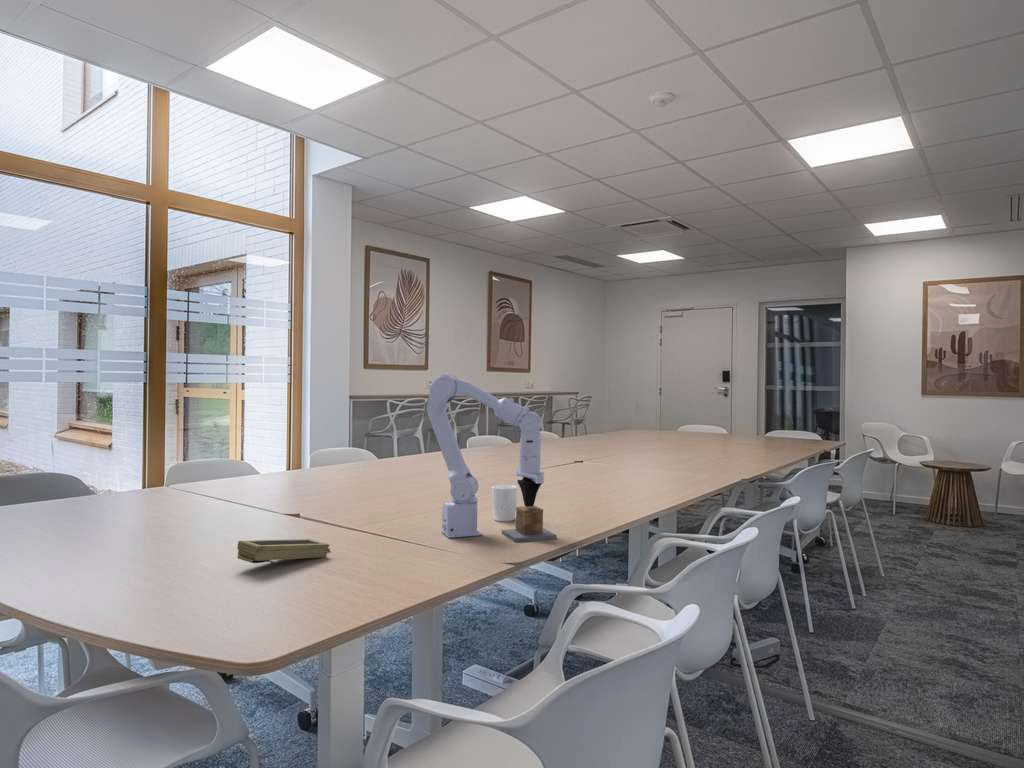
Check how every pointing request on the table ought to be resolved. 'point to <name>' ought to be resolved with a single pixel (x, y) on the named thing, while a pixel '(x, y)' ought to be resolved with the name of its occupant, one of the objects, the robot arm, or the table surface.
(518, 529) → the sliding lid crate
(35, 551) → the table surface
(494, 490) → the white cup
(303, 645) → the table surface
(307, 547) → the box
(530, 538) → the post base
